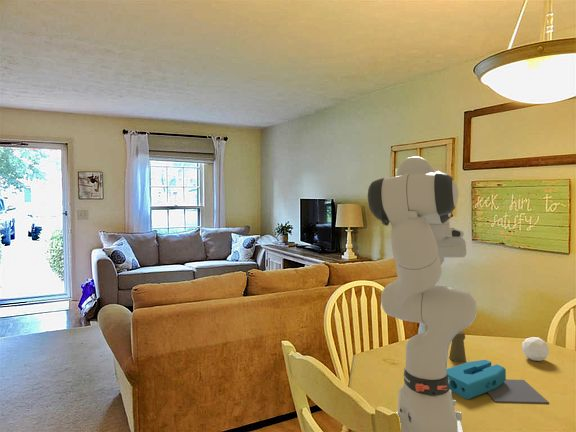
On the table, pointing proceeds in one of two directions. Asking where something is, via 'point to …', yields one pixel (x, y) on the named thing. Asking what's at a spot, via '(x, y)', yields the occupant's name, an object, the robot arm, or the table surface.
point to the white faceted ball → (535, 348)
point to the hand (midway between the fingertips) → (436, 269)
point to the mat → (516, 393)
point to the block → (475, 378)
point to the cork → (458, 348)
